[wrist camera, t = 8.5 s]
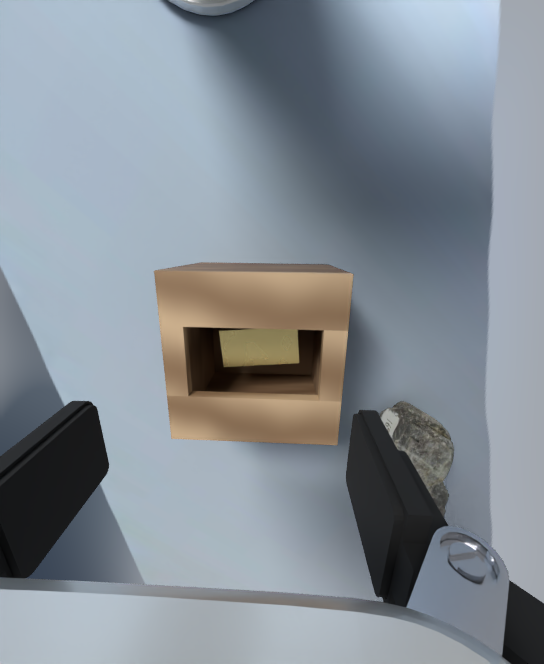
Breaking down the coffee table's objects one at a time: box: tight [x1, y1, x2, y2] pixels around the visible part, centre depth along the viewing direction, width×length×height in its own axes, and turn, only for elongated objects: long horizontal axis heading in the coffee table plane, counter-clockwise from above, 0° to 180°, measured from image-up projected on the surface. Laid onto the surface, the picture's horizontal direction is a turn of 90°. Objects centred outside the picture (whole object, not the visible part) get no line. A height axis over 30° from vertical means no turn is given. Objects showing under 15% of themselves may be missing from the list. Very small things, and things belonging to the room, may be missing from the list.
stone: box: [380, 401, 454, 517], centre depth 29 cm, size 14×7×10 cm, turn 2°
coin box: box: [154, 262, 353, 445], centre depth 24 cm, size 12×12×10 cm
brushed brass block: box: [219, 328, 299, 367], centre depth 25 cm, size 3×6×6 cm, turn 94°
